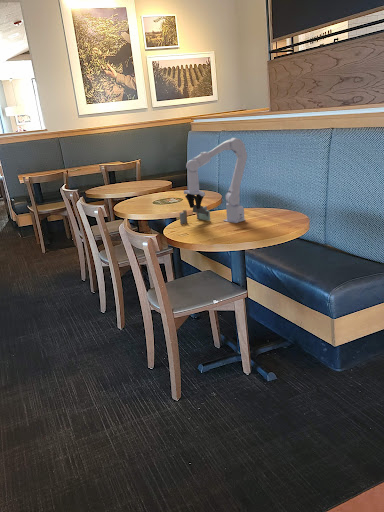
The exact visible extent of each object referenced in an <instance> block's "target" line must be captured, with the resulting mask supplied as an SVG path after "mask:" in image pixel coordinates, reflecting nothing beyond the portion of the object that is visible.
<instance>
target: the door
mask: <svg viewBox="0 0 384 512" xmlns="http://www.w3.org/2000/svg"><path fill="white" fill-rule="evenodd" d="M206 212H208V215H207V214H201V213H198V217H199V219H198V220H203V221H209V222H210V221H211V211H210V210H208V209H207V210H206Z"/></svg>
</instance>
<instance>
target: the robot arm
mask: <svg viewBox="0 0 384 512" xmlns="http://www.w3.org/2000/svg"><path fill="white" fill-rule="evenodd" d="M245 145H246V144H245V143H244V142H243V140H241V139H240V138H237V137H230V138H229V139H227V140H225V141H223V142H221V143H220V144H218V145H217V146H215V147H214V148H213V149H211V150H209V151H201V152H199V153H200V154H198V155H196V156H195V157H192V159H190V160H188V161H187V162H186V165H185V168H186V169H187V171H186V172H187V187H188V188H187V189H185V190H183V194H184V197H185V198H186V200H187V202H188V204H189V207H190V209H193V205H196V208H197V209H199V208H200V206H202V202H203V199H204V197H205V196H206V193H205V192H206V191H202V190H200V181H199V173H198V170H199V168H201V167H203V166H205V165H206V164H208V163H210V162H211V160H212V158H213V157H215V156H217V155H219V154H220V153H223V152H224V151H232V152H233V153H234V155H235V156H236V161H235V166H234V170H233V173H232V174H233V175H232V178H231V182H230V186H229V187H228V190H227V192H226V193H225V196H224V198H225V201H226V203H225V206H226V207H225V209H226V211H225V212H226V219H223V222H229V223H234V224H239V223H241V222H243V221H246V218H245V208H244V206H242V205H240V201H241V198H240V195H241V194H240V193H241V190H240V189H241V188H240V187H241V183H242V180H243V174H244V172H245V167H246V162H247V159H248V154H247V153H248V152H247V151H246V146H245Z"/></svg>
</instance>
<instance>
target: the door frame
mask: <svg viewBox="0 0 384 512" xmlns="http://www.w3.org/2000/svg"><path fill="white" fill-rule="evenodd" d="M203 209H206V210H208V206H206V205H205V206H204V205H203ZM196 219H197V220H200V219H199V217H198V213H196ZM179 222H180V224H181V225H183V224H187V223H188V214H187V209H182V212H180V213H179Z"/></svg>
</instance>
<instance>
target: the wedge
mask: <svg viewBox="0 0 384 512" xmlns="http://www.w3.org/2000/svg"><path fill="white" fill-rule="evenodd" d="M203 207H204V205H201V206H200V208H199V209H197V208H196V204H194V205H193V208H192V213H196V214H197V213H201V214H207V215H208V212H206V209H203Z"/></svg>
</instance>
